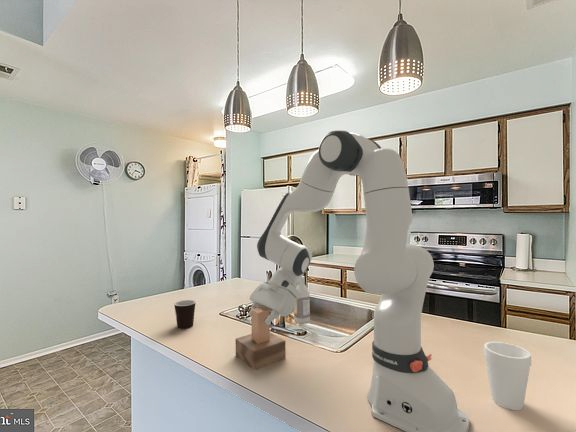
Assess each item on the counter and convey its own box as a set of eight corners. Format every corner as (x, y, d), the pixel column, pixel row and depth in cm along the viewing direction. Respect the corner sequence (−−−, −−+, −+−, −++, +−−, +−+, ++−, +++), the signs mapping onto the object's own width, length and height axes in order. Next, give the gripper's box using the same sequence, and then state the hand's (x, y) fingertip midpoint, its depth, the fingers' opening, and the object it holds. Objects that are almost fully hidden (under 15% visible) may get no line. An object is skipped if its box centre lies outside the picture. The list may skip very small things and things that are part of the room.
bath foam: (292, 319, 134) (291, 275, 134) (306, 318, 136) (305, 274, 136) (297, 325, 127) (296, 278, 127) (312, 323, 129) (311, 277, 129)
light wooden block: (269, 340, 99) (269, 310, 98) (258, 343, 96) (257, 312, 96) (262, 335, 102) (262, 306, 102) (251, 339, 100) (251, 309, 100)
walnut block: (285, 358, 98) (285, 340, 98) (254, 370, 91) (254, 351, 91) (265, 346, 108) (265, 329, 108) (235, 356, 100) (235, 338, 100)
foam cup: (507, 389, 79) (506, 340, 79) (541, 411, 70) (541, 356, 70) (475, 392, 78) (475, 343, 78) (506, 416, 69) (506, 360, 69)
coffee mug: (191, 330, 123) (191, 305, 123) (171, 330, 123) (170, 306, 123) (200, 320, 135) (200, 298, 135) (181, 320, 135) (181, 298, 135)
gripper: (259, 275, 112) (236, 306, 106) (294, 285, 95) (269, 322, 89) (269, 285, 114) (247, 316, 108) (304, 296, 98) (281, 333, 92)
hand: (257, 319), depth 99 cm, fingers open, 8 cm apart
